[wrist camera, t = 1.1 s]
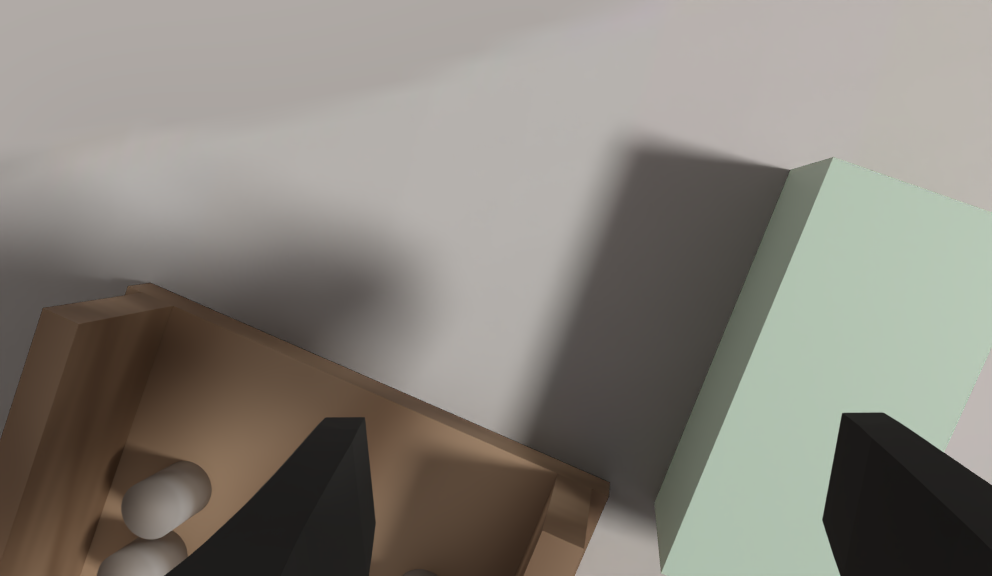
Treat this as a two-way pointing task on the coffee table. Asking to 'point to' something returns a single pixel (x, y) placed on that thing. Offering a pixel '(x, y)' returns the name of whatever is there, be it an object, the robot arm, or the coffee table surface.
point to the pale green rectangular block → (825, 364)
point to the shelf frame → (250, 452)
